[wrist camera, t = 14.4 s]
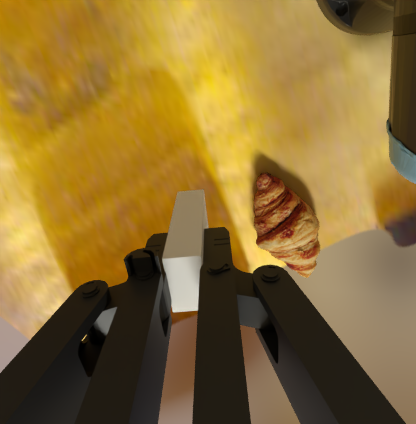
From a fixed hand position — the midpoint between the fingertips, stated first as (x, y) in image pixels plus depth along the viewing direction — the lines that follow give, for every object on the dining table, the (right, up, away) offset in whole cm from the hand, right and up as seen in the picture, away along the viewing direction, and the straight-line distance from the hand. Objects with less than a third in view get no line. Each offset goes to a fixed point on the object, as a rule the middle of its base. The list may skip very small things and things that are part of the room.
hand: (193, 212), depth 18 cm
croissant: (+13, -2, +33) cm, 36 cm away
